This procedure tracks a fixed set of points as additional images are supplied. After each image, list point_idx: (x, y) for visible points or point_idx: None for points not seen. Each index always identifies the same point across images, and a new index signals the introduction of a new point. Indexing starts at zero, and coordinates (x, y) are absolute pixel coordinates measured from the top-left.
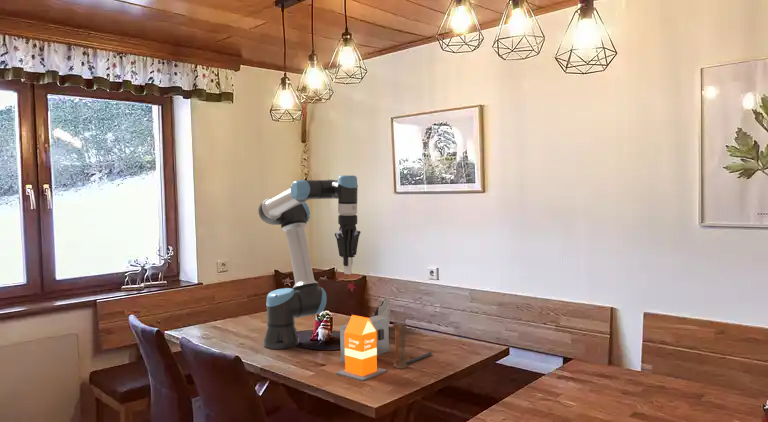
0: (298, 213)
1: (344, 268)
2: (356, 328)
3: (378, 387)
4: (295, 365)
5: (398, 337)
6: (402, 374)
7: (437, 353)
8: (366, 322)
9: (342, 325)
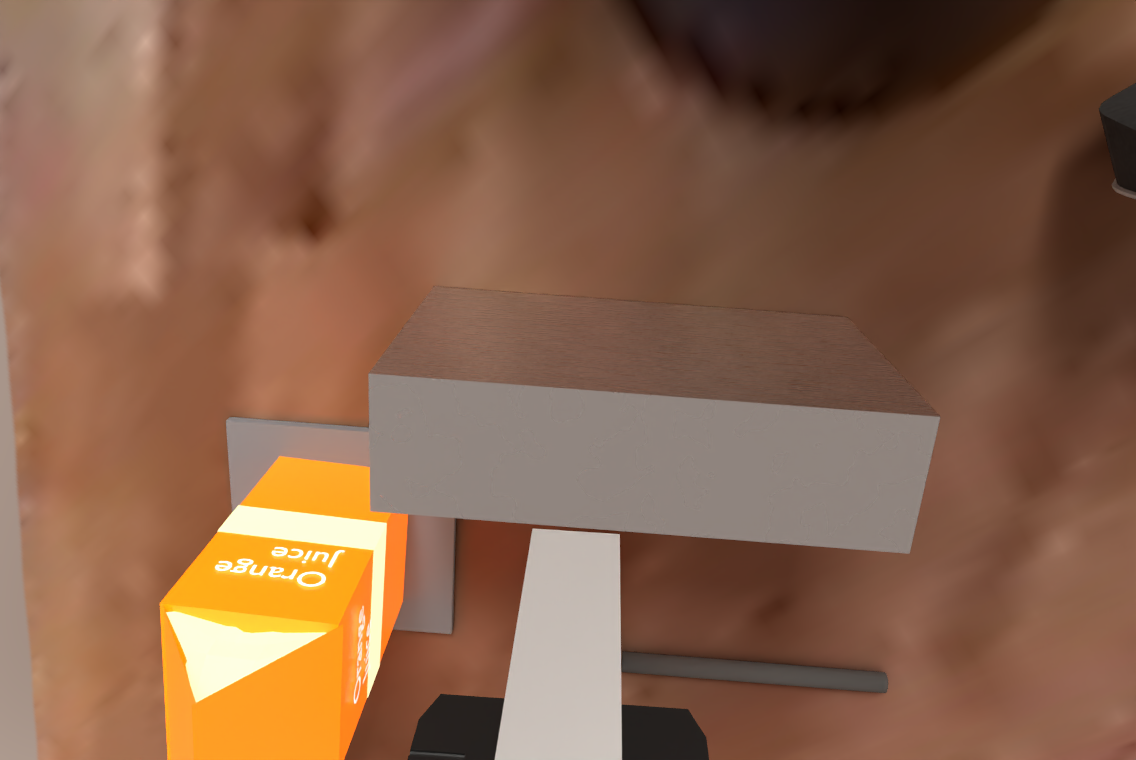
0: None
1: (521, 613)
2: (176, 727)
3: None
4: (169, 49)
5: None
6: None
7: (931, 694)
8: None
9: (394, 384)
